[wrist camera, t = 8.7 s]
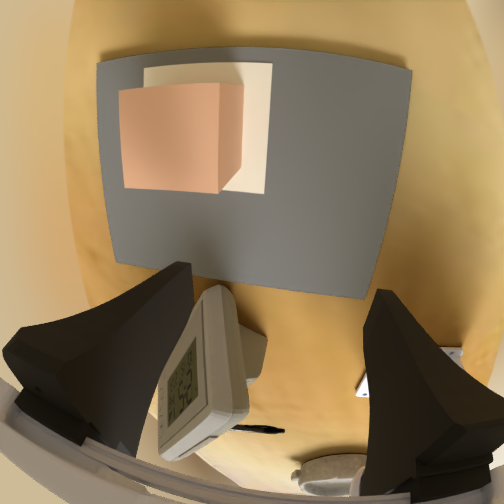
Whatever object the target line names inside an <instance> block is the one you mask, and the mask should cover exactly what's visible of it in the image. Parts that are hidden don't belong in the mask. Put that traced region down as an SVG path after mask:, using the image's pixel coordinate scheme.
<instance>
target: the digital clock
mask: <svg viewBox="0 0 504 504" xmlns="http://www.w3.org/2000/svg"><path fill="white" fill-rule="evenodd" d="M267 342H268V340H267V338H266V337H264V336H262V335H260V334H258V333H256V332H254V331H252V330H250V329H248V328H246V327H245V326H243V325H241V324H239V323H238V316H237V309H236V303H235V299H234V297H233V295H232V293H231V292H230V290H229V289H228V288H226V287H225V286H223V285H220V284H217V285H215V286H213V287H210V288H208V289H206V290H204V291H203V293H202V294H201V296H200V298H199V299H198V301H197V303H196V305H195V306H194V308H193V310H192V312H191V315H190V318H189V320H188V323H187V325H186V327H185V329H184V331H183V333H182V335H181V337H180V339H179V341H178V342H177V344H176V346H175V348H174V350H173V352H172V354H171V356H170V357H169V359H168V361H167V363H166V365H165V367H164V369H163V371H162V374H161V376H160V378H159V381H158V452H159V455H160V456H161V457H163V458H164V459H165V460H167V461H178V460H180V459H182V458H185V457H187V456H189V455H190V454H192V453H194V452H195V451H197V450H199V449H200V448H202V447H204V446H205V445H207V444H209V443H210V442H212V441H213V440H215V439H216V438H218V437H219V436H221V435H222V434H224V433H225V432H227V431H228V430H230V429H231V428H233V427H234V426H235V425H237V424H238V423H239V422H241V421H242V420H243V419H244V418H246V416H247V415H248V413H249V408H250V405H249V395H248V388H247V387H248V386H249V385H250V384H251V383H252V382H254V381H255V380H256V379H257V378H258V377H259V376H260V373H261V370H262V366H263V361H264V357H265V352H266V347H267Z"/></svg>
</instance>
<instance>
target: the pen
mask: <svg viewBox="0 0 504 504" xmlns="http://www.w3.org/2000/svg"><path fill="white" fill-rule="evenodd" d="M261 427H267V428H261ZM230 430H233V431H242V432H254V433H265V434H278V433H285V430H284V429H277V428H275V427H272V426H264V425H254V426H248V425H245V426H239V425H235V426H234V427H233V428H231V429H230Z"/></svg>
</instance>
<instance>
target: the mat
mask: <svg viewBox="0 0 504 504" xmlns="http://www.w3.org/2000/svg"><path fill="white" fill-rule="evenodd" d="M411 80H412V70H409V69H405V68H402V67H398V66H394V65H390V64H386V63H381V62H377V61H372V60H367V59H362V58H357V57H352V56H346V55H340V54H333V53H326V52H318V51H309V50H299V49H287V48H270V47H210V48H193V49H181V50H171V51H163V52H155V53H148V54H141V55H135V56H129V57H124V58H118V59H113V60H109V61H104V62H100V63H97V121H98V138H99V151H100V162H101V172H102V181H103V189H104V197H105V204H106V210H107V217H108V223H109V229H110V235H111V240H112V245H113V250H114V255H115V260H116V262H117V263H123V264H128V265H134V266H139V267H145V268H151V269H156V270H163V269H164V268H166V267H167V266H169V265H171V264H172V263H174V262H176V261H181V262H187V263H191V266H192V276H198V277H204V278H210V279H217V280H223V281H229V282H236V283H243V284H249V285H256V286H263V287H270V288H277V289H284V290H292V291H299V292H306V293H314V294H322V295H330V296H338V297H346V298H354V299H363V300H365V297H366V294H367V291H368V288H369V285H370V282H371V279H372V276H373V272H374V269H375V266H376V262H377V259H378V255H379V252H380V248H381V245H382V241H383V237H384V233H385V230H386V226H387V222H388V218H389V213H390V209H391V205H392V201H393V196H394V191H395V187H396V182H397V177H398V172H399V167H400V161H401V156H402V150H403V144H404V138H405V131H406V124H407V117H408V109H409V100H410V91H411ZM194 83H227V84H235V85H243V86H244V107H243V134H242V164H241V168H240V169H239V171H238V172H237V173H236V174H235V175H234V176H233V177H232V179H231V180H230V181H229V182H228V183H227V184H226V185H225V187H224V188H223V189H222V190H221V191H220V192H219V193H218V194H213V193H201V192H187V191H172V190H155V189H135V188H125V186H124V177H123V166H122V155H121V141H120V122H119V91H120V90H127V89H135V88H143V87H152V86H163V85H176V84H194Z"/></svg>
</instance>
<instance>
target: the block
mask: <svg viewBox="0 0 504 504" xmlns="http://www.w3.org/2000/svg"><path fill="white" fill-rule="evenodd" d="M243 107H244V86H243V85H235V84H227V83H194V84H176V85H163V86H152V87H143V88H135V89H127V90H120V91H119V122H120V141H121V155H122V166H123V177H124V186H125V188H135V189H155V190H172V191H187V192H201V193H213V194H218V193H219V192H220V191H221V190H222V189H223V188H224V187H225V185H226V184H227V183H228V182H229V181H230V180H231V179H232V177H233V176H234V175H235V174H236V173H237V172H238V171H239V169H240V168H241V164H242V134H243Z"/></svg>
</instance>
